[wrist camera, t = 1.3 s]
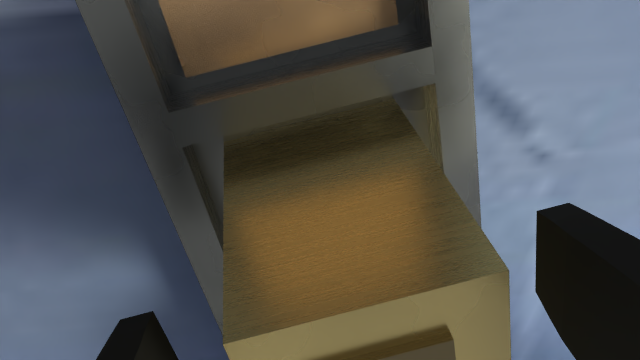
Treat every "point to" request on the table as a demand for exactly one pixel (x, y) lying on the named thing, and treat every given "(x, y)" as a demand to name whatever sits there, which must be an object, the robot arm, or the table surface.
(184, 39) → the rail
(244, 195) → the tan hollow block
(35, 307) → the table surface
